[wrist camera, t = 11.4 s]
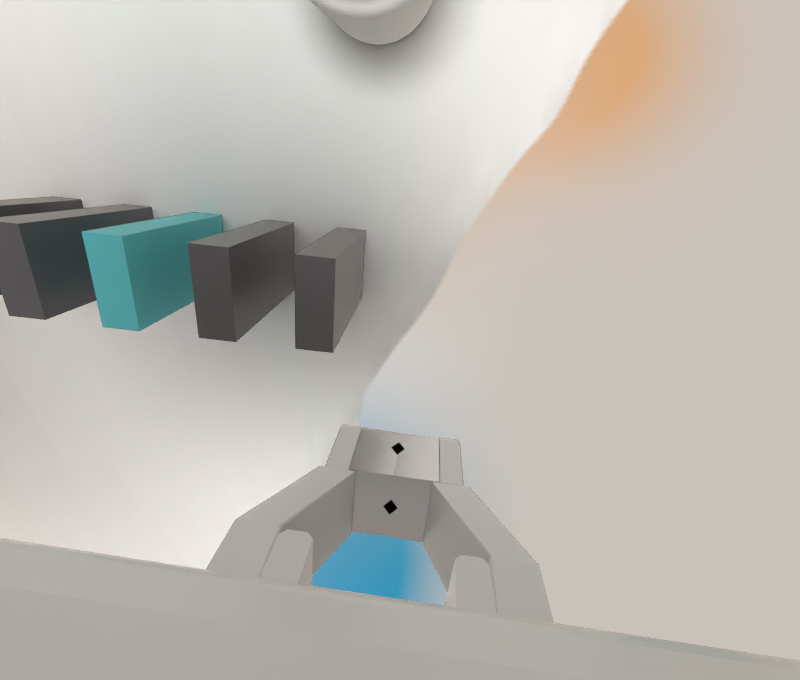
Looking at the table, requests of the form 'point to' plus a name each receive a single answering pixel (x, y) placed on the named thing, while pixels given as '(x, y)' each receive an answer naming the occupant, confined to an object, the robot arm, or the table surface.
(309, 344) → the domino
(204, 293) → the domino
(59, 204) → the domino
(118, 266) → the domino teal
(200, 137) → the table surface
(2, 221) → the domino
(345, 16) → the cup
